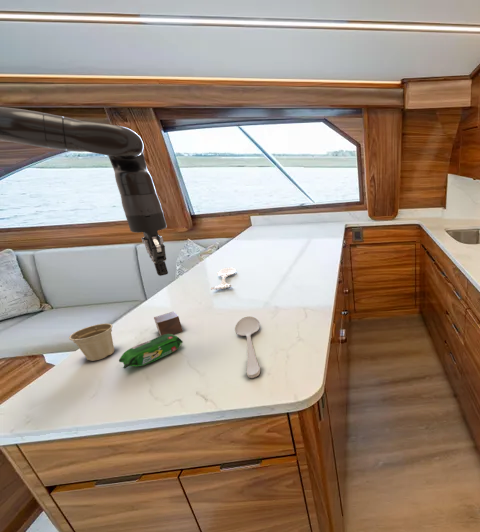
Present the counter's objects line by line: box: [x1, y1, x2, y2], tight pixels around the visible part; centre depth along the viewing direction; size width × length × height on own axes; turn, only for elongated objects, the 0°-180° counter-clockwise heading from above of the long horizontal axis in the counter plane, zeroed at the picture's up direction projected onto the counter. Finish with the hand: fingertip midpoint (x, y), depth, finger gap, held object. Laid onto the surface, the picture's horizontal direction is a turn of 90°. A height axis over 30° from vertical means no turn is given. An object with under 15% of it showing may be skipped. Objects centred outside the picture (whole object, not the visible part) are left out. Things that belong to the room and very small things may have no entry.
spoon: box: [234, 316, 261, 379], centre depth 95 cm, size 35×8×3 cm, turn 29°
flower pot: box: [68, 323, 115, 362], centre depth 91 cm, size 9×9×9 cm
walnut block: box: [153, 311, 183, 336], centre depth 104 cm, size 6×6×6 cm
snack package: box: [118, 334, 184, 369], centre depth 90 cm, size 7×16×5 cm, turn 150°
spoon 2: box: [210, 267, 237, 291], centre depth 150 cm, size 9×32×4 cm, turn 25°
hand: (163, 274), depth 82 cm, fingers closed
